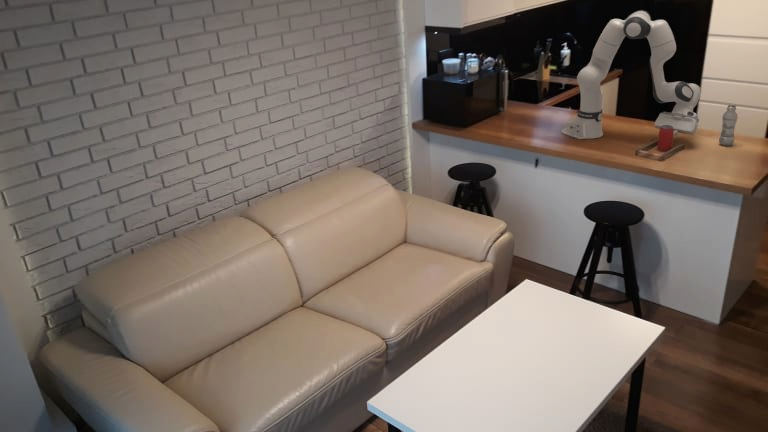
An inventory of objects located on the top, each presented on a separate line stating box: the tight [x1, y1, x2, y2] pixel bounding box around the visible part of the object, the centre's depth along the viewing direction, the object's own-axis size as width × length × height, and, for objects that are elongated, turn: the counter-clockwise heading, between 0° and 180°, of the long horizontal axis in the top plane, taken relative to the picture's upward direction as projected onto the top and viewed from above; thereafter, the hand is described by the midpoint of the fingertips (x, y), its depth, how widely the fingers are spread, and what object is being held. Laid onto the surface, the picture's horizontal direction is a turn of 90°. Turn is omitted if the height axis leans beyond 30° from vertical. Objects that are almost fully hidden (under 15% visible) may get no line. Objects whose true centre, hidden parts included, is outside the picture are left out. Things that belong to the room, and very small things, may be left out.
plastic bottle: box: [718, 104, 738, 146], centre depth 301 cm, size 6×7×20 cm
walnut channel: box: [635, 138, 686, 162], centre depth 305 cm, size 14×22×2 cm, turn 129°
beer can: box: [656, 125, 674, 152], centre depth 305 cm, size 7×7×12 cm
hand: (669, 138), depth 308 cm, fingers closed, pressing on beer can
